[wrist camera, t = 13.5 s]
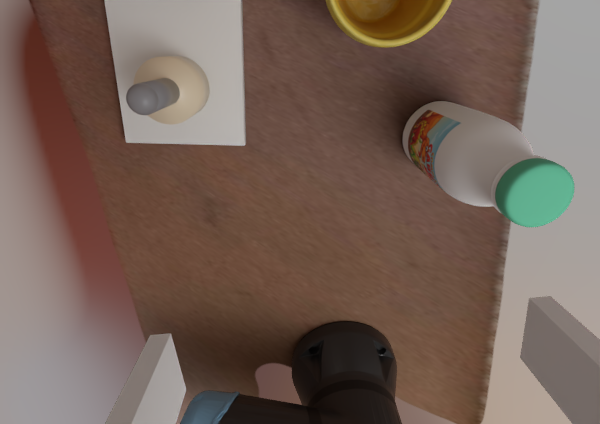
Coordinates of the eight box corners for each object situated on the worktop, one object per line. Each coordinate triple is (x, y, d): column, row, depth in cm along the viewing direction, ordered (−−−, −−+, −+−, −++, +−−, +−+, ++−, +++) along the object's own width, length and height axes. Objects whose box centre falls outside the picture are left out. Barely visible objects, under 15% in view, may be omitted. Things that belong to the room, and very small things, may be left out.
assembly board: (245, 143, 43) (228, 179, 31) (130, 140, 42) (65, 175, 30) (238, -139, 33) (208, -249, 21) (88, -147, 33) (-33, -264, 20)
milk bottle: (440, 84, 41) (562, 112, 22) (481, 133, 43) (624, 195, 25) (386, 136, 43) (458, 200, 25) (429, 180, 45) (523, 269, 27)
